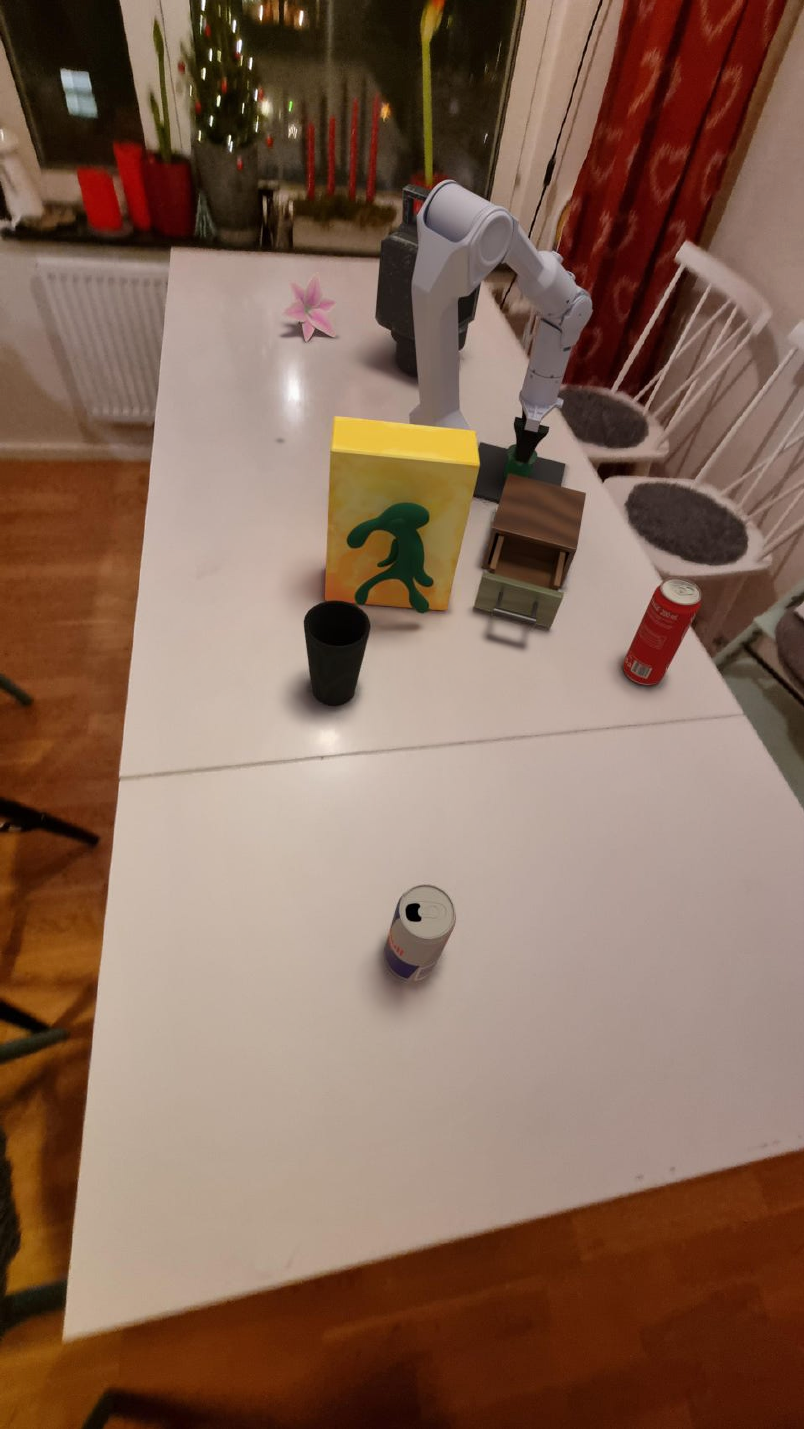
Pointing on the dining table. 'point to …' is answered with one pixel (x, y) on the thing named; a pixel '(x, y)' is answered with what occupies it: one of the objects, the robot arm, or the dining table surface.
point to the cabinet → (538, 517)
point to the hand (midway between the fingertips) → (523, 448)
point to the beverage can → (662, 630)
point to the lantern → (409, 285)
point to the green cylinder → (518, 464)
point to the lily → (311, 307)
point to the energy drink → (419, 932)
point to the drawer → (522, 582)
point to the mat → (493, 466)
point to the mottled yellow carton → (397, 511)
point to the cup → (335, 649)
